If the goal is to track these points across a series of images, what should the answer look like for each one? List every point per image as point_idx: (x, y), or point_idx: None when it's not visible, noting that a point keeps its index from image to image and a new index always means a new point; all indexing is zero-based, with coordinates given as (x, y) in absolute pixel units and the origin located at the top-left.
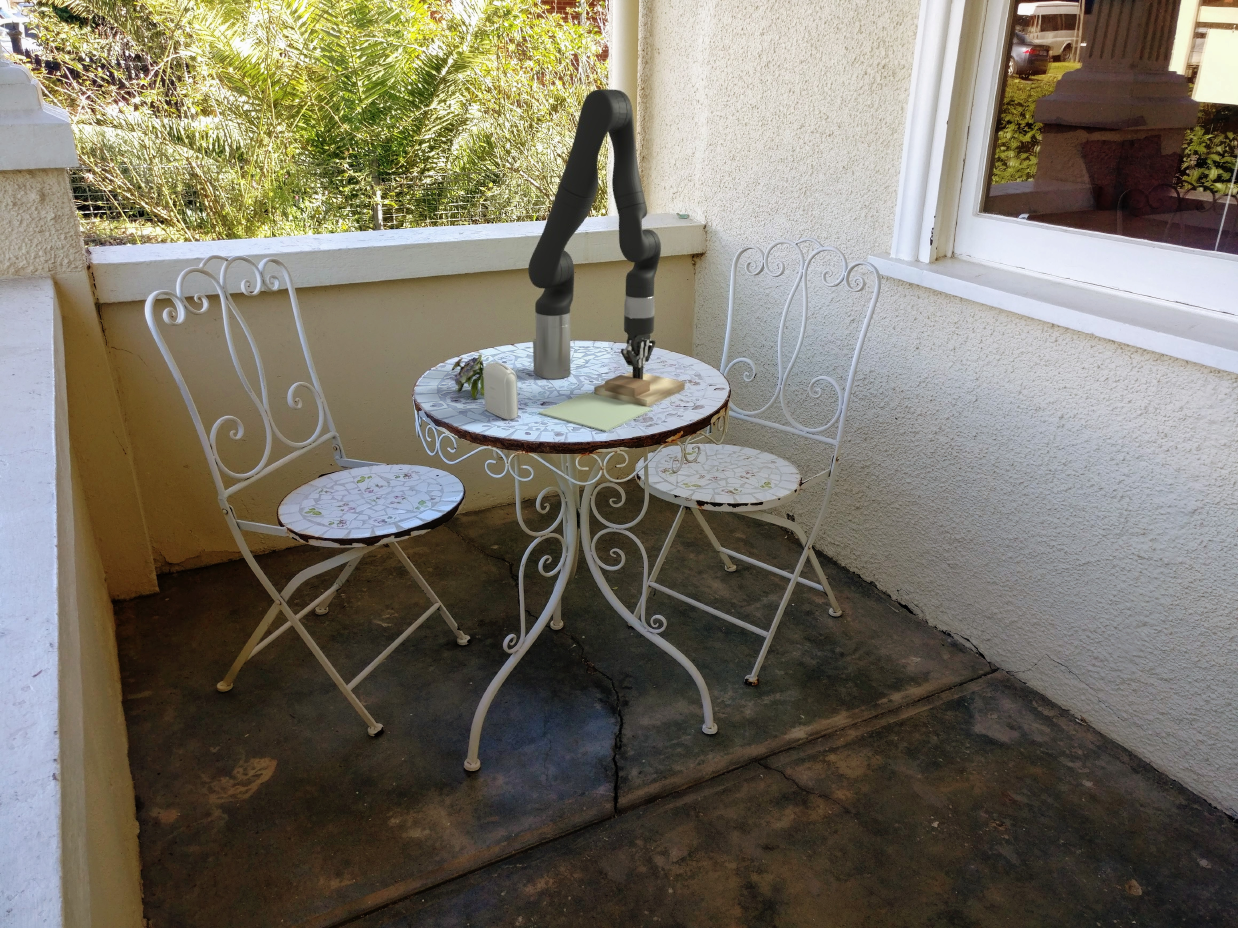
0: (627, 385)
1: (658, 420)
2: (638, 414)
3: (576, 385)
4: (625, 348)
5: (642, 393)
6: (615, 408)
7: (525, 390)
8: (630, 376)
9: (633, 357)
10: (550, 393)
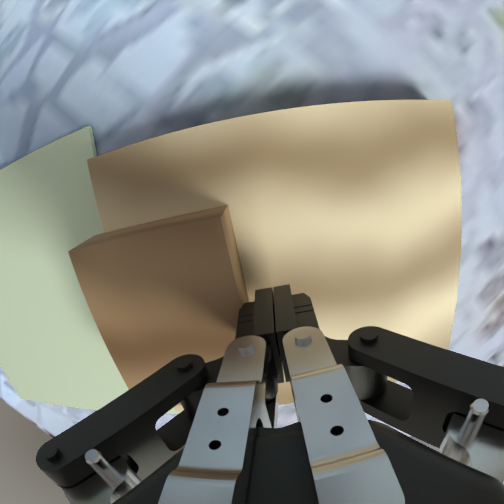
0: (128, 369)
1: None
2: None
3: (140, 7)
4: (66, 494)
5: None
6: (80, 342)
7: (5, 4)
8: (375, 145)
9: (154, 468)
10: (19, 56)
